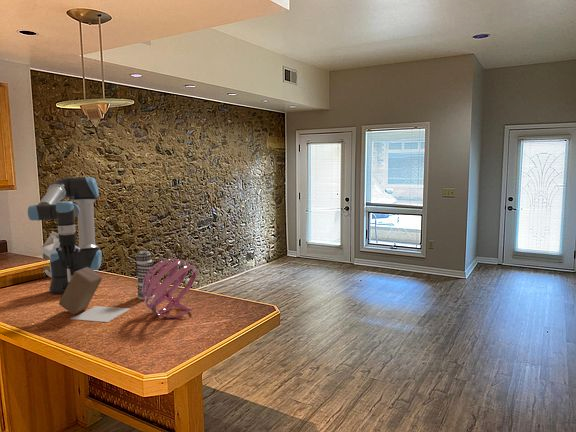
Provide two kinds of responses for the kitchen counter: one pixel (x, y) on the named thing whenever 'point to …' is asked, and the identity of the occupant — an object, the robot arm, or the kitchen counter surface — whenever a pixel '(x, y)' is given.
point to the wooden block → (80, 290)
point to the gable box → (50, 249)
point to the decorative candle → (143, 270)
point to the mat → (100, 314)
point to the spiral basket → (163, 286)
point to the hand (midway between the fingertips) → (71, 281)
